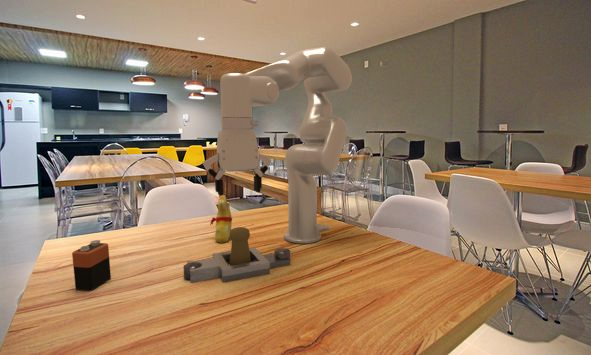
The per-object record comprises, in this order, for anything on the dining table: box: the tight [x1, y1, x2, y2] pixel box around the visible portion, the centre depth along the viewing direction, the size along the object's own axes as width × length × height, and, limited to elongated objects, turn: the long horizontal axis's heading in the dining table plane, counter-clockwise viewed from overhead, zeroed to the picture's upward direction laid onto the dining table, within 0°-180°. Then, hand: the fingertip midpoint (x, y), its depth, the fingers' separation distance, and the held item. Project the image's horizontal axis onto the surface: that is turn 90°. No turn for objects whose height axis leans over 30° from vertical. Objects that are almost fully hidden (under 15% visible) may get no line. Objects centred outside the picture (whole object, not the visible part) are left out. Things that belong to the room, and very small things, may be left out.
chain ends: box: [183, 247, 291, 284], centre depth 88 cm, size 28×12×3 cm, turn 115°
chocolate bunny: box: [210, 194, 233, 244], centre depth 112 cm, size 7×11×15 cm, turn 2°
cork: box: [228, 226, 251, 266], centre depth 87 cm, size 6×6×11 cm
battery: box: [71, 239, 112, 291], centre depth 78 cm, size 4×7×10 cm, turn 172°
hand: (239, 193), depth 85 cm, fingers open, 9 cm apart
